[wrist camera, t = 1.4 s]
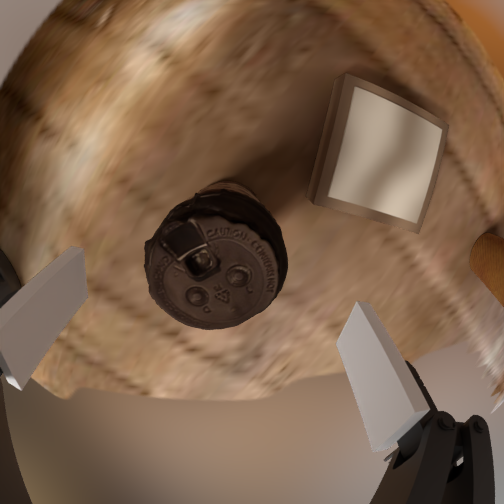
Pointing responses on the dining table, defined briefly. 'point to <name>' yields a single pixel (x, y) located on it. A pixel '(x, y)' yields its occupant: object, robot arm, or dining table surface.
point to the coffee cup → (216, 258)
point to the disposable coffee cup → (489, 263)
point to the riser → (377, 155)
